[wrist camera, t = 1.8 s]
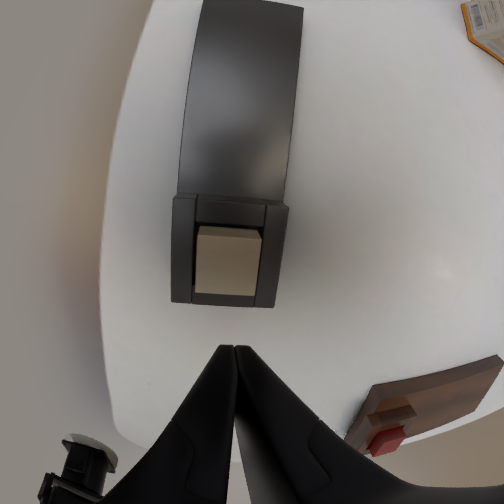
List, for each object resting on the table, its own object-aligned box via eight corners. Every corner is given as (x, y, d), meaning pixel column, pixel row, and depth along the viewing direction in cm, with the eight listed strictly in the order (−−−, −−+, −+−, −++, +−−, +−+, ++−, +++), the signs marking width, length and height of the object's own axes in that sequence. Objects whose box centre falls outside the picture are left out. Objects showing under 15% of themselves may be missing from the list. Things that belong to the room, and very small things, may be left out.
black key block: (266, 283, 20) (275, 308, 16) (177, 277, 19) (169, 302, 16) (297, 17, 14) (312, -6, 11) (205, 6, 13) (203, -20, 10)
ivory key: (251, 281, 16) (254, 296, 15) (197, 278, 16) (194, 292, 14) (257, 229, 15) (261, 239, 14) (200, 225, 15) (197, 234, 13)
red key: (389, 440, 24) (395, 451, 22) (367, 446, 24) (372, 457, 22) (400, 424, 23) (407, 435, 22) (377, 430, 23) (384, 442, 21)
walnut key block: (467, 403, 31) (479, 418, 28) (336, 441, 28) (345, 466, 24) (496, 354, 28) (512, 369, 24) (365, 386, 25) (380, 414, 21)
